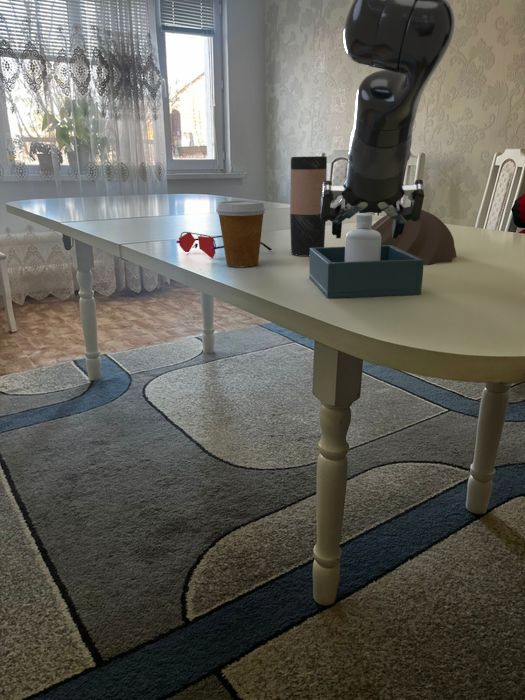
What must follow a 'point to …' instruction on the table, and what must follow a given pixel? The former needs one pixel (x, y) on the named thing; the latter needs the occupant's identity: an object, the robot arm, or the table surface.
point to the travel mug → (307, 203)
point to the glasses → (201, 243)
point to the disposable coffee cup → (241, 231)
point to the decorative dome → (420, 238)
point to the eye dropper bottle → (363, 241)
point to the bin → (365, 273)
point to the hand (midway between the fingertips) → (365, 233)
